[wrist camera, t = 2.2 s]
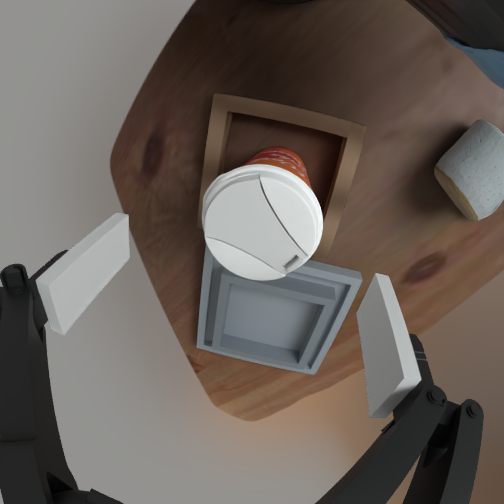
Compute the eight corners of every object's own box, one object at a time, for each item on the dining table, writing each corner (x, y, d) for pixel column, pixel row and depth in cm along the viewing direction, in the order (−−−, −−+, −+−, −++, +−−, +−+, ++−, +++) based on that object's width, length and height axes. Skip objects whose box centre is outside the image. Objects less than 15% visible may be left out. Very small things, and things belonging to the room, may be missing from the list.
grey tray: (210, 236, 35) (202, 249, 32) (360, 272, 34) (364, 287, 31) (199, 339, 44) (193, 354, 41) (314, 366, 43) (314, 382, 40)
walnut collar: (221, 93, 26) (213, 93, 24) (362, 124, 26) (367, 127, 23) (203, 218, 34) (196, 228, 31) (325, 247, 33) (326, 259, 31)
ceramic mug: (419, 162, 26) (450, 186, 20) (465, 113, 22) (506, 124, 16) (467, 227, 28) (497, 262, 22) (508, 183, 25) (545, 210, 18)
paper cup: (332, 173, 29) (351, 235, 17) (279, 222, 32) (262, 306, 20) (274, 119, 27) (249, 139, 15) (224, 173, 31) (170, 231, 19)
